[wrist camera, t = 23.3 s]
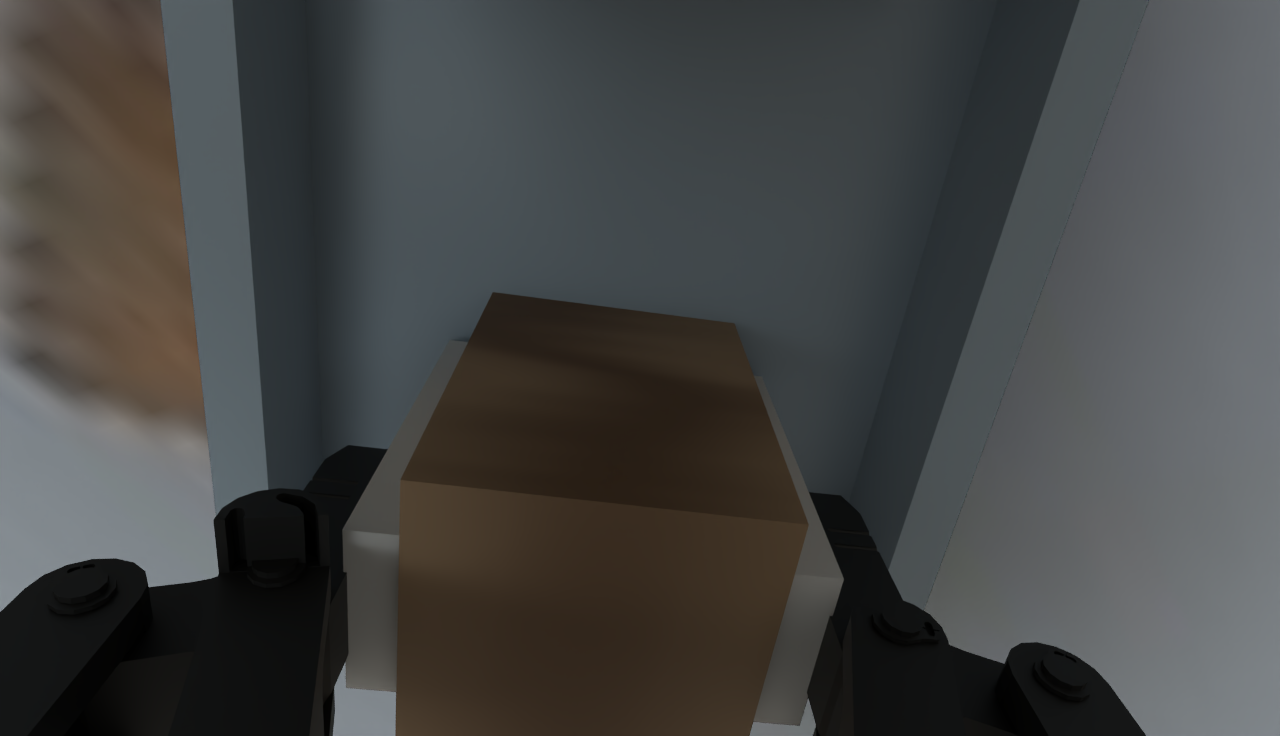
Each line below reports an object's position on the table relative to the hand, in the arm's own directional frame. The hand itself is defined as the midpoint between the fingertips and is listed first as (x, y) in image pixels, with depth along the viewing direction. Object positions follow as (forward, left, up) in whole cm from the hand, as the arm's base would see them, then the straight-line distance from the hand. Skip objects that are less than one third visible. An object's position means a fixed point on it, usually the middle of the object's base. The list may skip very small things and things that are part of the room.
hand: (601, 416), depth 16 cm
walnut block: (0, 0, 0) cm, 0 cm away
